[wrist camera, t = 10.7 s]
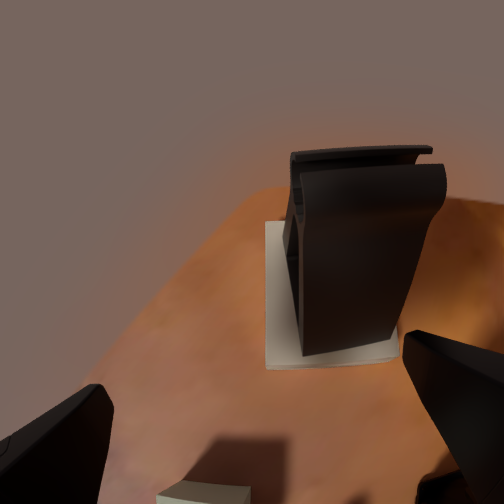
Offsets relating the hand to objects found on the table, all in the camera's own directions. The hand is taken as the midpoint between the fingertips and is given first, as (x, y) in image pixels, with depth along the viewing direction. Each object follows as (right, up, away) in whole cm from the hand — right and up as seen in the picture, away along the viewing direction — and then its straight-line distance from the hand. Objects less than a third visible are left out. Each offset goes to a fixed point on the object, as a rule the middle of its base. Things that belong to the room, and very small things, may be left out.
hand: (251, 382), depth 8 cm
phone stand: (+6, +1, +13) cm, 14 cm away
